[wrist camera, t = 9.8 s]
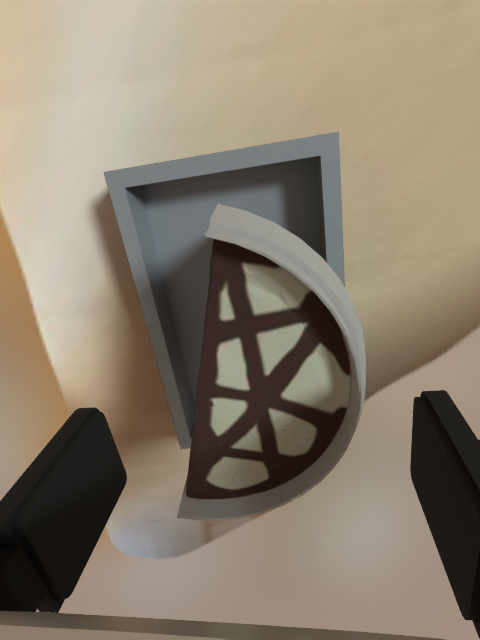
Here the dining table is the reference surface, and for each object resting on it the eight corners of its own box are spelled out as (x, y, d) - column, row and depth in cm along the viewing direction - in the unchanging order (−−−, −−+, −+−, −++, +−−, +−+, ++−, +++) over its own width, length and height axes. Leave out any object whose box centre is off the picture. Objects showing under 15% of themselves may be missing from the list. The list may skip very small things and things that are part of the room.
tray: (328, 135, 18) (338, 131, 15) (342, 407, 25) (350, 438, 22) (127, 170, 19) (103, 172, 17) (190, 418, 26) (180, 448, 23)
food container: (306, 400, 24) (328, 552, 14) (213, 384, 24) (175, 526, 15) (358, 204, 18) (442, 249, 9) (238, 185, 19) (206, 212, 9)
